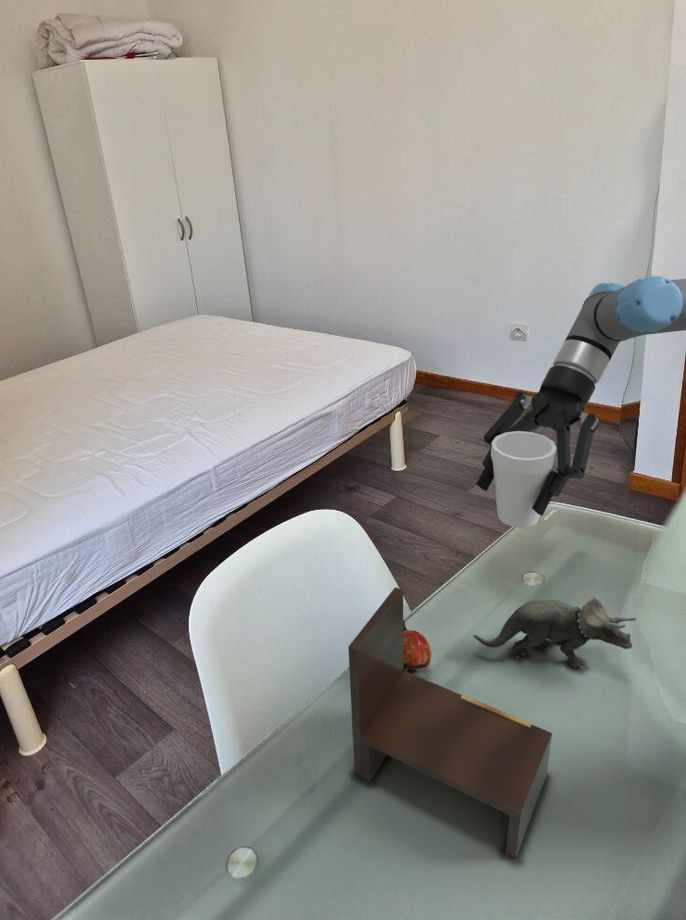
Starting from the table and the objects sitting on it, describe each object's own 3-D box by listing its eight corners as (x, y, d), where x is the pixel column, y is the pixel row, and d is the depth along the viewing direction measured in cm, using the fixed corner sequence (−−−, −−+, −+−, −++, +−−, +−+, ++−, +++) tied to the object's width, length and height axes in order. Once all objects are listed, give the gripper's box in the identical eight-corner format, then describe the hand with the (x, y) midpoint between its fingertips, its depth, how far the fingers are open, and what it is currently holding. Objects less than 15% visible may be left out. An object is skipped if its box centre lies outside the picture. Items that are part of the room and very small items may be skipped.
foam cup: (476, 508, 113) (480, 438, 107) (524, 495, 116) (529, 426, 110) (511, 539, 105) (516, 465, 99) (561, 524, 108) (569, 451, 102)
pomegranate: (434, 695, 102) (435, 626, 107) (427, 689, 96) (428, 617, 101) (385, 691, 105) (387, 624, 109) (375, 686, 98) (378, 615, 103)
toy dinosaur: (471, 659, 105) (474, 602, 100) (476, 622, 112) (479, 566, 108) (626, 687, 99) (638, 627, 94) (621, 645, 106) (632, 587, 101)
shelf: (546, 776, 87) (563, 646, 77) (515, 859, 78) (531, 723, 69) (396, 708, 98) (395, 586, 88) (354, 773, 89) (348, 646, 79)
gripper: (648, 404, 104) (581, 535, 101) (521, 369, 119) (461, 482, 117) (636, 382, 98) (565, 520, 96) (505, 348, 114) (441, 466, 112)
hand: (508, 499), depth 106 cm, fingers closed on foam cup, 9 cm apart
